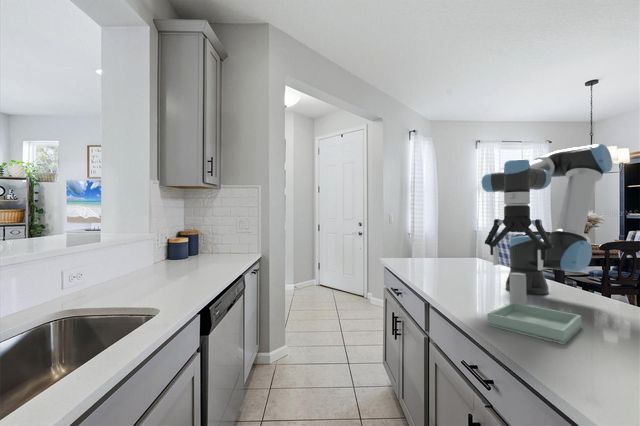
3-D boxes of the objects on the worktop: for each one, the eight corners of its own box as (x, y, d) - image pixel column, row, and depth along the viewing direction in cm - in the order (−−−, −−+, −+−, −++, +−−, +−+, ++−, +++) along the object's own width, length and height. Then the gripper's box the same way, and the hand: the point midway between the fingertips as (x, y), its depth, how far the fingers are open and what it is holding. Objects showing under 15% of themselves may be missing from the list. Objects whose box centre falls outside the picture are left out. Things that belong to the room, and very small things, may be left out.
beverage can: (529, 311, 104) (528, 275, 104) (513, 310, 105) (512, 274, 105) (522, 307, 109) (522, 272, 109) (507, 306, 110) (507, 272, 110)
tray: (511, 312, 103) (511, 302, 103) (581, 327, 89) (581, 315, 89) (488, 325, 92) (487, 313, 92) (564, 344, 78) (563, 330, 78)
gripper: (474, 205, 114) (474, 263, 114) (558, 203, 95) (558, 273, 95) (483, 206, 119) (483, 261, 119) (564, 204, 100) (565, 270, 99)
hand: (517, 267), depth 107 cm, fingers open, 13 cm apart
